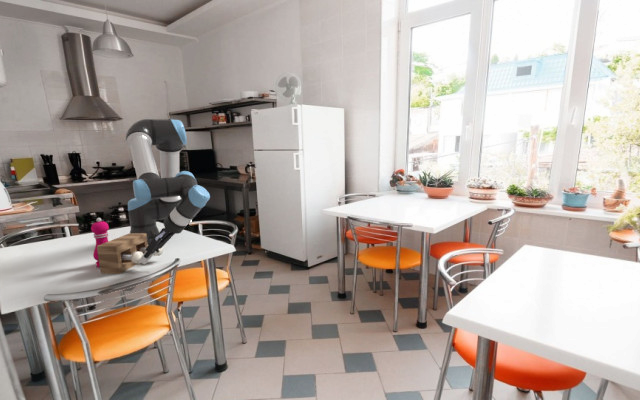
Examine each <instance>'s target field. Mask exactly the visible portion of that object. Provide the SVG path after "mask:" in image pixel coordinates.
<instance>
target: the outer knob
mask: <svg viewBox="0 0 640 400" xmlns="http://www.w3.org/2000/svg"><path fill="white" fill-rule="evenodd" d="M142 256H143V253H142V252H139V251H135V252H133V253H132V255H121V260H131V261H132V262H133V263H139V264H142V263H141V262H140V261H139V259H140V258H141V257H142Z"/></svg>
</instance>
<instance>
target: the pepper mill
mask: <svg viewBox="0 0 640 400" xmlns="http://www.w3.org/2000/svg"><path fill="white" fill-rule="evenodd" d="M95 221H96V222H93V223H92V224H91V227H90V229H91V230H90V231H91V232H92V233H93V238H94V239H95V247H94V250H93V255H92V256H93V259H94V260H95V261H96V262H95V266H96V267H97V268H100V264H99V258H98V251H97V246H98V245H101V244H103V243H106V242H109V232H108V231H109V230H110V227H109V224H108V223H107V222H106V221H104V220H103V221H102V218H101V217H97V218H96V220H95Z"/></svg>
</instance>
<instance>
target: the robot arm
mask: <svg viewBox="0 0 640 400" xmlns="http://www.w3.org/2000/svg"><path fill="white" fill-rule="evenodd" d="M187 140H188V139H187V132H186V129H185V125H184V123H183V122H182V121H181V120H180V119H172V118H170V119H166V118H164V119H163V118H162V119H159V118H155V119H154V118H152V119H150V118H145V119H140V120H137V121H136V122H134V123H133V124H132V125H131V126H130V127H129V128H128V129H127V132H126V135H125V142H126V146H127V147H128V148H129V149H130V151H131V156H132V162H133V166H134V169H135V174H136V179H134V180H133V182H132V188H133V195H134V198H131V199H129V200H128V202H127V211H128V217H129V225H130V231H129V233H146V235H147V243H148V247H146V252H145V253H144V254H143V256H142V257H141V258H140V259H139V261H140V262H141V263H140V264H142V265H146V264H147V263H148V262H149V261H150V260H151V258H152V257H154V254H155V253H156V252H157V253H158V252H159V249H161V248H162V247H164V246H165V245H166V243H168V242H169V240H171V239H172V238H173V236H174V235H175V234H176V235H177V234H181V233H182V232H183V231H184V229H185V228H186V227H187V225H189V224H191V223H192V222H193V221H192V220H193V219H194V218H195V217H196V216H197V214H198V213H200V211H201V210H202V209H203V208H204V207H205V206H206V205H207V202H209V200H210V198H211V195H210V193H209V191H208V190H207V189H206V188H205V187H204V186H202V185H198V181H197V179H196V178H195V176H194V174H193V173H192V172H190V171H187V170H183V171H182V170H181V171H180V152H181V151H182V150H183V148H184V147H183V146H186V145H187V143H188V141H187ZM152 146H155V149H156V150H157V151H159V164H160V165H159V167H160V174H159V171H158V167H157V163H156V160H155V157H154V153H153V149H152ZM159 220H163V226H164V227H163V228H162V229H160V230H159V228H158V226H157V221H159ZM155 251H156V252H155Z"/></svg>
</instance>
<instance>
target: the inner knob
mask: <svg viewBox="0 0 640 400" xmlns="http://www.w3.org/2000/svg"><path fill="white" fill-rule="evenodd" d="M163 247H164V246H163ZM163 247H162V248H161V249H159V252H158V253H157V252H156V251H155V252H156V253H155V254H154V255H153V257H154V256H155V257H157V256H161V255H162V254H163V251H164V250H163V249H164V248H163ZM140 252H146V248H140Z"/></svg>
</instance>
